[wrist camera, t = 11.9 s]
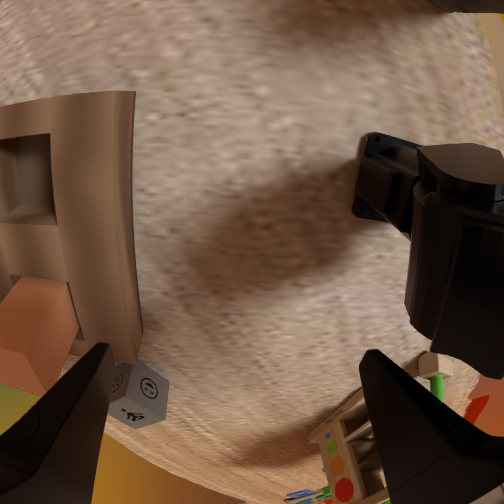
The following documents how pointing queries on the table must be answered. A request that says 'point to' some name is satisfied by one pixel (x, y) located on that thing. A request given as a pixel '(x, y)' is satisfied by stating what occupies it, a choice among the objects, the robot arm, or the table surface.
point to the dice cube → (138, 395)
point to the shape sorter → (311, 497)
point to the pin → (36, 333)
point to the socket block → (74, 210)
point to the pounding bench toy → (364, 441)
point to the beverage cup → (471, 6)
